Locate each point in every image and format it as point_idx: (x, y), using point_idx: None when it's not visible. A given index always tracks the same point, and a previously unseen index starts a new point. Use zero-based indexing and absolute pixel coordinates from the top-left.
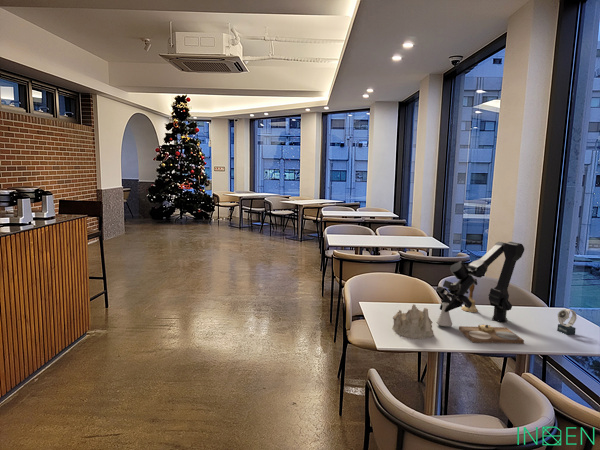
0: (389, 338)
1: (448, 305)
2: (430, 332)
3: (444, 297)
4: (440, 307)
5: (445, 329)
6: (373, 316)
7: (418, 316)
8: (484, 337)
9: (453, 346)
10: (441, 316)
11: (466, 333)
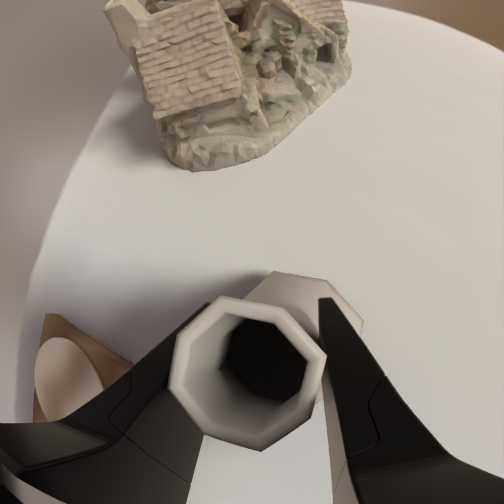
0: None
1: (158, 366)
2: (157, 125)
3: (390, 484)
4: (325, 307)
5: None
6: (474, 45)
7: (147, 8)
8: (41, 379)
9: (65, 195)
10: (267, 290)
11: (96, 350)
